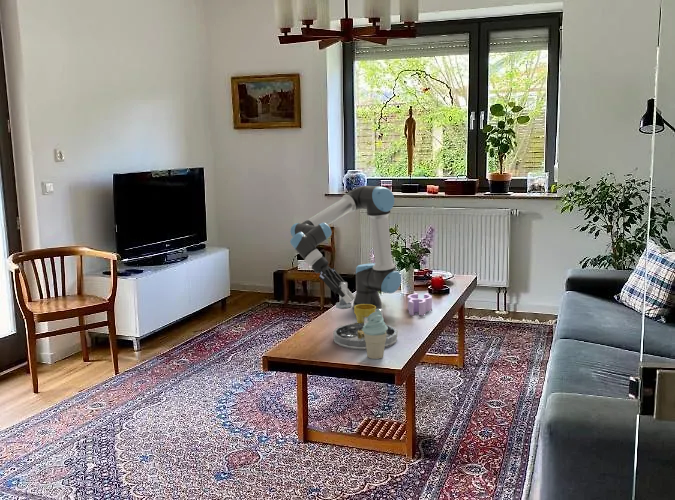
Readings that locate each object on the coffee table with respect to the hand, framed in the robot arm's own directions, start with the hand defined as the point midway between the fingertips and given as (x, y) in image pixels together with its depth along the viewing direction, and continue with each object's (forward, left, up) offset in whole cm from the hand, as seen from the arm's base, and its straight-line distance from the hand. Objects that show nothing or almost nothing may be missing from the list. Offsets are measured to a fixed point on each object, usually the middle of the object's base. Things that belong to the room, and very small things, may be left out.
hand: (351, 300), depth 297 cm
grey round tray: (0, +6, -17) cm, 19 cm away
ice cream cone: (+20, +18, -18) cm, 33 cm away
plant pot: (-19, -1, -18) cm, 26 cm away
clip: (-54, +16, -18) cm, 59 cm away
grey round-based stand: (0, -4, -3) cm, 5 cm away
